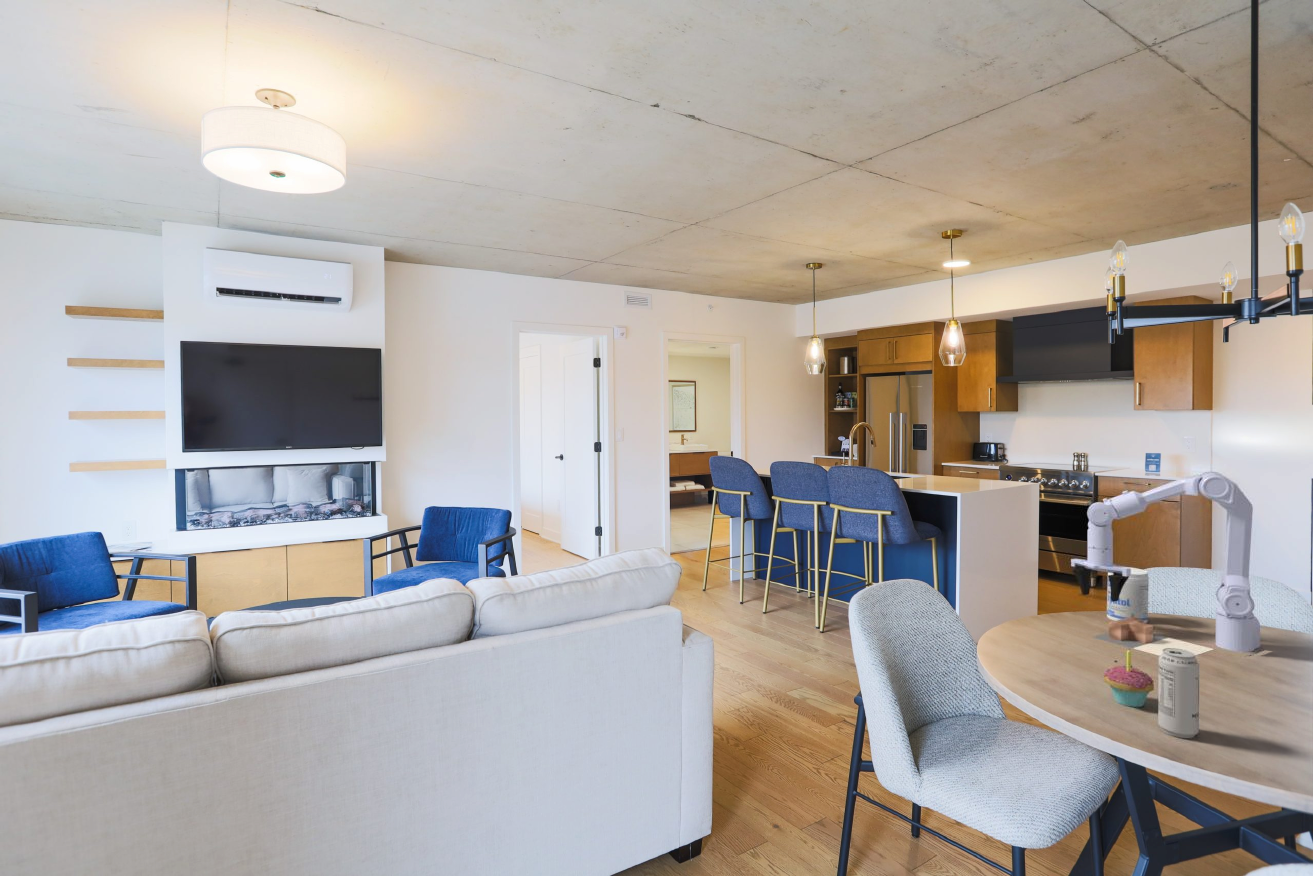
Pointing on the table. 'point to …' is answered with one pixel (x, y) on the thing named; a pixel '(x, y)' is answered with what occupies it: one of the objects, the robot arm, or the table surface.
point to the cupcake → (1129, 684)
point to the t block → (1131, 630)
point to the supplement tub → (1130, 597)
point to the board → (1157, 644)
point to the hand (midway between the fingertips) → (1099, 597)
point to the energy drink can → (1178, 693)
